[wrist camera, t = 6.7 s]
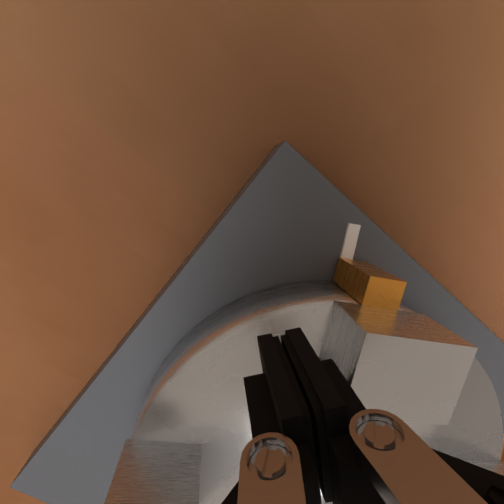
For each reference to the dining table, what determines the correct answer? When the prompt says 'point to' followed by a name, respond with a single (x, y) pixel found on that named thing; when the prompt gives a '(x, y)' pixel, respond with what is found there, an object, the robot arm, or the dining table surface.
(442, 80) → the dining table surface
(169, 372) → the domed turntable base
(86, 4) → the dining table surface
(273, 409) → the robot arm
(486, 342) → the housing plate
